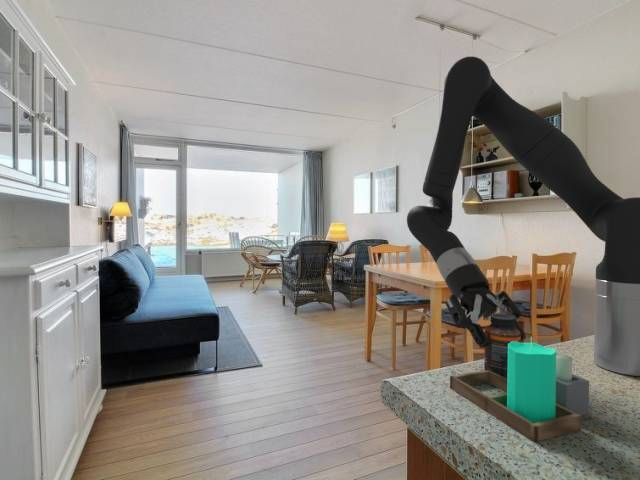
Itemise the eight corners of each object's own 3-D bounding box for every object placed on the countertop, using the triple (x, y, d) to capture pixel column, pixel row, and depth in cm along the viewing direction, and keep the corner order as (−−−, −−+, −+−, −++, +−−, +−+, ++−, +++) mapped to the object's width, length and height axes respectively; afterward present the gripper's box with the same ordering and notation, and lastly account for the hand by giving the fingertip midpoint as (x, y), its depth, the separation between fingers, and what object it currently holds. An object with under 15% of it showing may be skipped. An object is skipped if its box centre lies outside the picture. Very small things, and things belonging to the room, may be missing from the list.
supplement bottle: (525, 384, 61) (526, 321, 61) (489, 382, 62) (489, 319, 62) (513, 371, 67) (514, 313, 66) (480, 368, 68) (481, 311, 68)
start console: (558, 399, 56) (558, 368, 55) (588, 414, 51) (589, 380, 51) (536, 404, 54) (537, 372, 54) (565, 419, 50) (566, 385, 50)
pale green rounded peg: (560, 391, 54) (561, 353, 54) (575, 398, 52) (576, 358, 52) (549, 393, 53) (550, 355, 53) (564, 400, 51) (564, 360, 51)
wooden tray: (488, 380, 63) (488, 369, 62) (580, 429, 47) (581, 415, 47) (449, 387, 60) (450, 376, 60) (534, 442, 45) (534, 426, 44)
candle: (564, 433, 46) (565, 345, 46) (515, 429, 47) (516, 342, 47) (543, 410, 52) (544, 331, 52) (500, 407, 53) (501, 330, 53)
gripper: (441, 263, 70) (484, 336, 59) (497, 261, 74) (546, 329, 63) (425, 285, 75) (462, 356, 64) (478, 282, 79) (521, 348, 69)
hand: (504, 343), depth 64 cm, fingers open, 8 cm apart
